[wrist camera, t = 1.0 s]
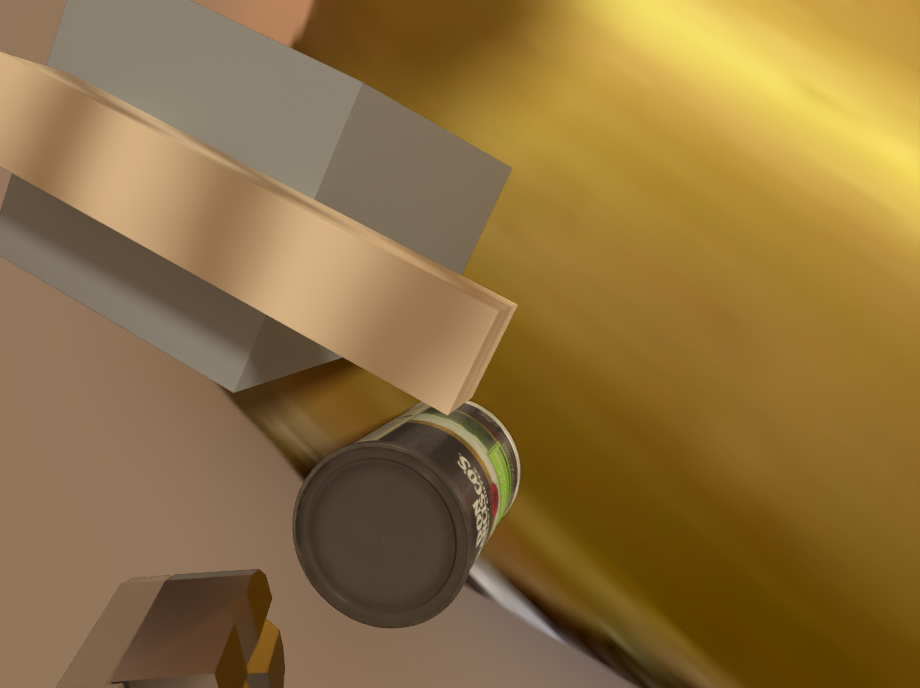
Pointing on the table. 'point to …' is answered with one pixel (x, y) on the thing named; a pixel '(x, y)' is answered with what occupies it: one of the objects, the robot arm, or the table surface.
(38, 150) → the beech bar
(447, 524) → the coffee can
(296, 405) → the table surface
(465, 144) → the pedestal
